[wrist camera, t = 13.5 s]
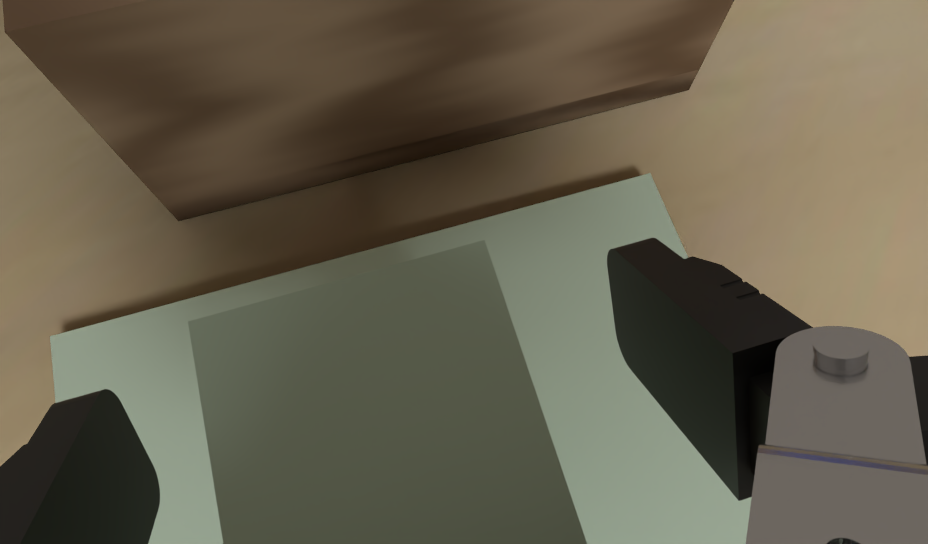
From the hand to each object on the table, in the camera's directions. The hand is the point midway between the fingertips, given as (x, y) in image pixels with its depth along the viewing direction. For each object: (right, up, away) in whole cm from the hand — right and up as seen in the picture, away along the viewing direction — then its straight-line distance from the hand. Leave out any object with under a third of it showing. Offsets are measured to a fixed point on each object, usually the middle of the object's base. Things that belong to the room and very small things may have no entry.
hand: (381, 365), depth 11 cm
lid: (0, -4, +7) cm, 8 cm away
